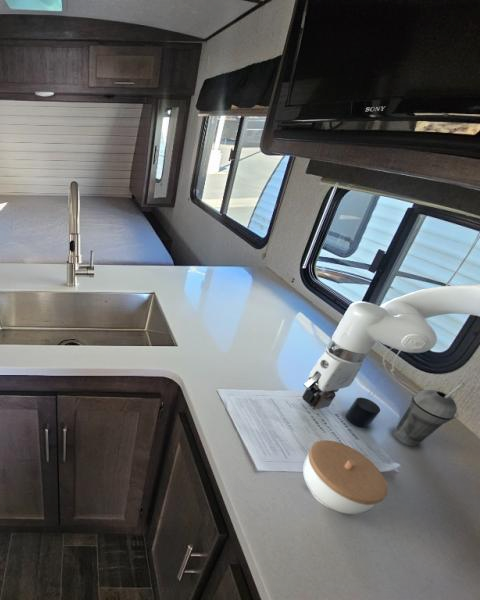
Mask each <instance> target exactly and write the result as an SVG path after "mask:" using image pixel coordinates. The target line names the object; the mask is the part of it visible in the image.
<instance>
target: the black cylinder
mask: <svg viewBox="0 0 480 600" xmlns="http://www.w3.org/2000/svg"><path fill="white" fill-rule="evenodd" d="M380 412H381V408H380V406H379V405H378V404H377V403H376V402H374V401H373V400H371V399H369V398H366V397H361V396H359V397H356V398H355V400H354V402H353V403H352V404H351V406H350V407H349V408H348V410H347V411H346V413H345V418H346V420H347V421H348V422H349V423H350V424H351V425H353V426H355V427H357V428H360V429H367V428H369V427H370V426H371V424H372V423H373V421H374V420H375V419H376V418H377V417H378V415H379V414H380Z"/></svg>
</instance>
